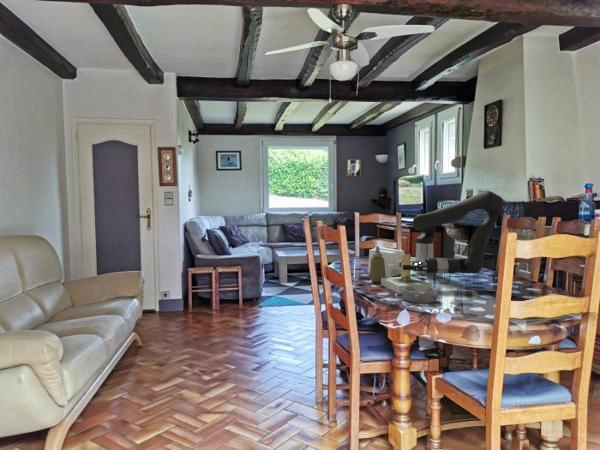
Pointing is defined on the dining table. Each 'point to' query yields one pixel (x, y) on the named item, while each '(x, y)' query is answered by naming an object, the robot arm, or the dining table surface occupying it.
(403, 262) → the tan rectangular block
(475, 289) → the dining table surface
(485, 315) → the dining table surface
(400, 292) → the tray
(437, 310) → the dining table surface
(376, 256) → the squeeze bottle
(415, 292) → the dish
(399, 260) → the blocky voxel creature
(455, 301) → the dining table surface
